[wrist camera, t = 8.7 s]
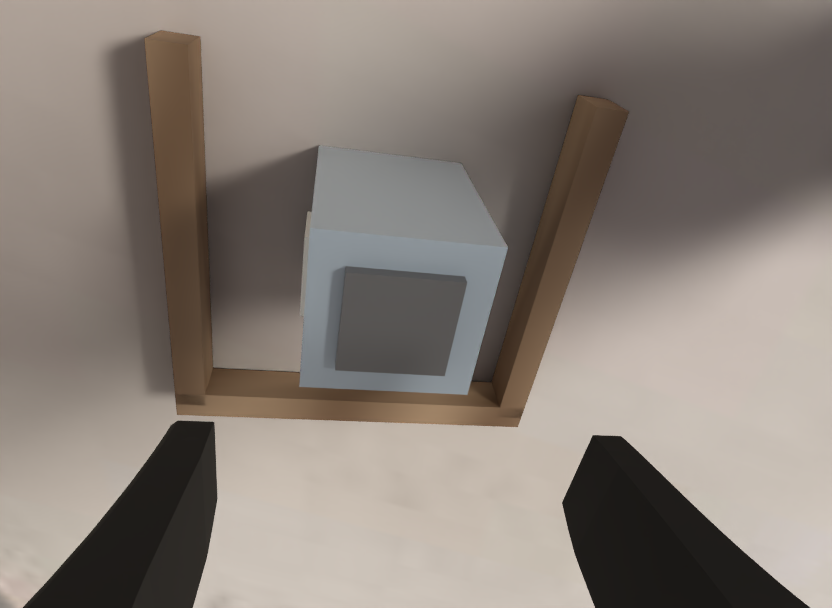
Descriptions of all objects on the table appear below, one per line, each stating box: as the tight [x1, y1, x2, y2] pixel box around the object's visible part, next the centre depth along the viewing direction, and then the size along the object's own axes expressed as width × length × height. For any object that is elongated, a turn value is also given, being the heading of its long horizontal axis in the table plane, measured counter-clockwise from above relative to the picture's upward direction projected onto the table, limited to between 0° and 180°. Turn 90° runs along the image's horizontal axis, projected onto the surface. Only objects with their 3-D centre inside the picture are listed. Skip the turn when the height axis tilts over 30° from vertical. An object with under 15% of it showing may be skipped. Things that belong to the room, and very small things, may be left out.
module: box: [299, 145, 508, 395], centre depth 16 cm, size 5×4×6 cm
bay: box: [144, 31, 629, 427], centre depth 19 cm, size 13×12×2 cm
